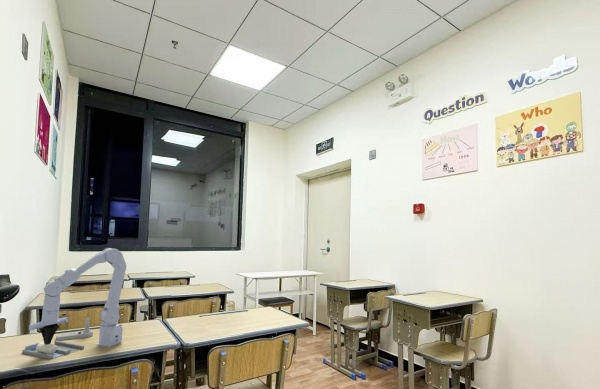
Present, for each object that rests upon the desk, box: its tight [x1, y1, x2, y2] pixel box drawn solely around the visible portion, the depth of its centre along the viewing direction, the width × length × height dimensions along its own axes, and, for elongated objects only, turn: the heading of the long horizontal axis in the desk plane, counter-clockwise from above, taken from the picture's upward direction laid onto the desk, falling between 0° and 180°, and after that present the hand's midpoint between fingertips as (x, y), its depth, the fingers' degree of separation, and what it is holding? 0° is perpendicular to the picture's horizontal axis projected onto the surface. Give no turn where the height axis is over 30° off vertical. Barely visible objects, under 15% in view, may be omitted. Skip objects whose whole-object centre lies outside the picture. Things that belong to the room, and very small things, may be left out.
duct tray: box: [21, 340, 85, 360], centre depth 142 cm, size 18×14×3 cm
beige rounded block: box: [36, 341, 57, 355], centre depth 139 cm, size 7×4×4 cm, turn 69°
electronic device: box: [55, 316, 94, 341], centre depth 162 cm, size 5×10×15 cm
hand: (47, 343), depth 139 cm, fingers closed, pressing on beige rounded block
